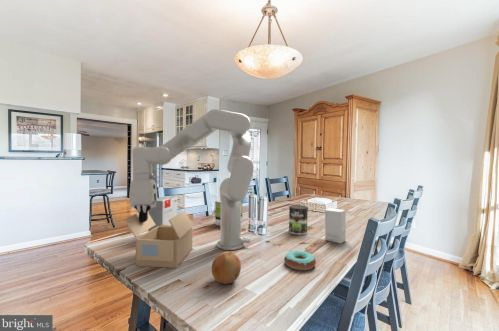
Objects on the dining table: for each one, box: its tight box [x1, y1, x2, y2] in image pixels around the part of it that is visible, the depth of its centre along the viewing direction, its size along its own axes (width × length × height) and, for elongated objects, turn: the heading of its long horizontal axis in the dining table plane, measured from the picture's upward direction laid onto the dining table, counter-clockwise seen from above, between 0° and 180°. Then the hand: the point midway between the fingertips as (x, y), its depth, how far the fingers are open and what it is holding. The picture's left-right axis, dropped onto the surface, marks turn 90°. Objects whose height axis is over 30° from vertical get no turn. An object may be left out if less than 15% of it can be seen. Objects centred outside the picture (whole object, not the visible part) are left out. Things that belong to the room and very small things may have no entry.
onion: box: [211, 250, 242, 285], centre depth 81 cm, size 10×10×10 cm
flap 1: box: [123, 212, 156, 238], centre depth 101 cm, size 1×16×8 cm
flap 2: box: [169, 210, 194, 239], centre depth 99 cm, size 1×16×8 cm, turn 175°
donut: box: [283, 250, 317, 271], centre depth 95 cm, size 12×12×4 cm
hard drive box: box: [147, 195, 179, 232], centre depth 125 cm, size 16×8×20 cm, turn 168°
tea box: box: [214, 200, 243, 227], centre depth 151 cm, size 15×10×15 cm, turn 144°
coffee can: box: [288, 204, 309, 236], centre depth 136 cm, size 10×10×14 cm
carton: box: [135, 225, 193, 269], centre depth 100 cm, size 16×20×10 cm
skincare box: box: [324, 207, 347, 244], centre depth 123 cm, size 8×7×16 cm
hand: (143, 221), depth 101 cm, fingers closed
